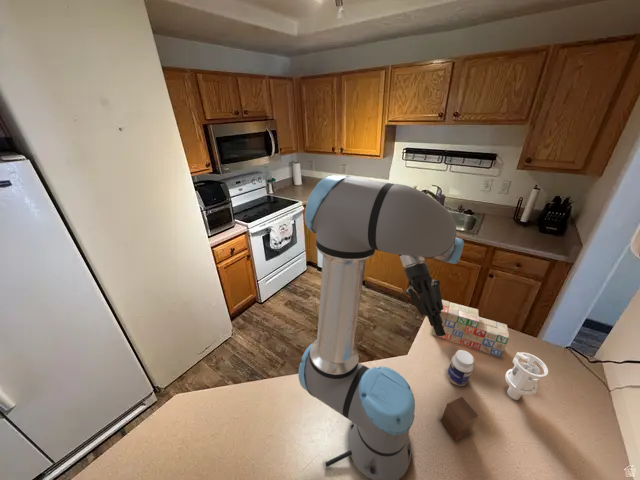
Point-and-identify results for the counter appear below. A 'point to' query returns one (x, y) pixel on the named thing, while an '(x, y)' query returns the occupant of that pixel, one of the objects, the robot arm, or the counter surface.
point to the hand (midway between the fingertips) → (441, 335)
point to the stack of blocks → (472, 329)
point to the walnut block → (459, 417)
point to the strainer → (524, 375)
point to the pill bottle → (460, 368)
